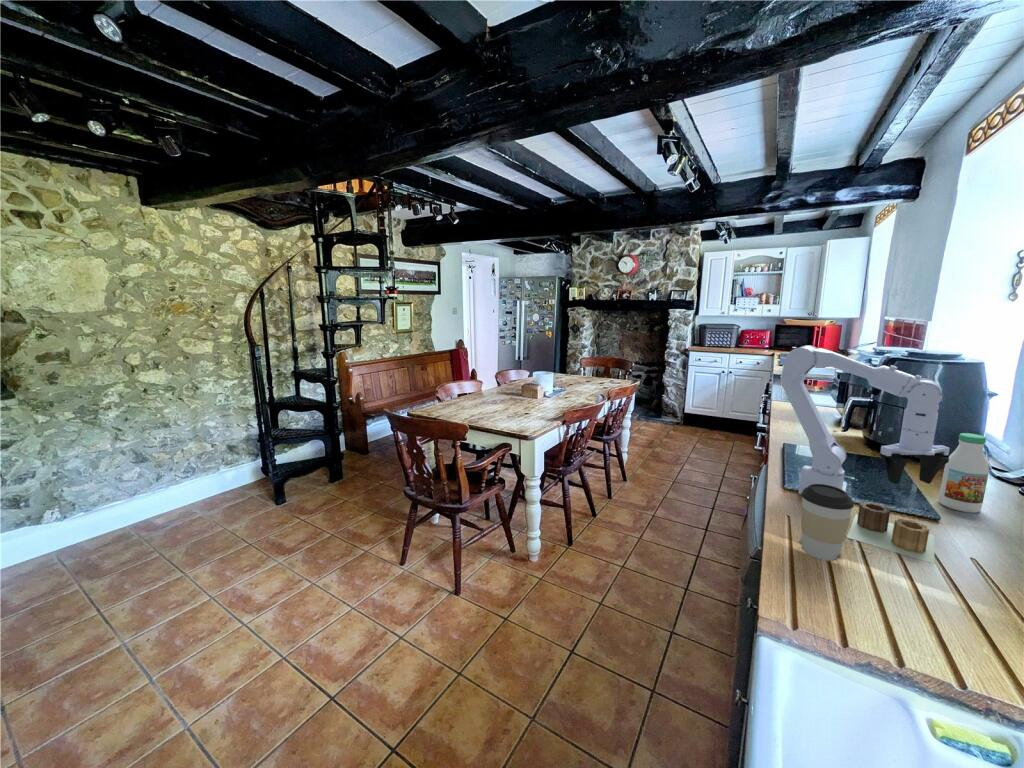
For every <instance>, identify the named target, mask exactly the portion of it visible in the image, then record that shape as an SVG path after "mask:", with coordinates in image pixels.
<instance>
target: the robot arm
mask: <svg viewBox="0 0 1024 768" xmlns="http://www.w3.org/2000/svg"><path fill="white" fill-rule="evenodd" d="M782 363H783V364H782V365H783V367H782V373H781V377H780V384H781V386H782V388H783V390H784V393H785V394H786V397H787V398H788V401H789V403H790V404H791V408H792V409H793V410H794V413H795V415H796V417H797V419H798V421H799V423H800V425H801V427H802V429H803V430H804V431H803V432H804V433H805V435H806V437H807V439H808V443H809V444H808V445H809V451H810V453H811V455H812V456H811V457H812V458H811V463H812V465H806V464H805V465H803V466H802V468H801V471H800V477H799V485H798V494H799V495H801V493H802V492H803V489H805V488H806V487H808V486H809V485H812V484H825V485H830V486H834V487H837V488H839V489H842V490H843V487H844V479H845V474H846V473H845V472H846V471H845V470H844V469H843V466H842V465H843V463H844V462H845V461H846V459H847V453H846V450H845V449H844V447H843V446H841V445H839V444H838V443H837V441H836V439H835V437H833V435H831V434H830V432H829V430H828V428H827V426H826V424H825V422H824V420H823V418H822V417H821V414H820V412H819V410H818V408H817V406H816V405H815V402H814V401H813V398H812V396H811V395H810V393H809V390H808V388H807V386H806V385H805V382H804V381H805V379H806V378H807V377H808V375H809V373H810V371H811V370H813V368H814V367H815V369H821V368H834V369H837V370H840V371H843V372H846V373H848V374H851V375H855V376H857V377H861V378H863V379H866V380H867V381H868V385H869V386H871V387H873V388H875V389H878V390H880V391H882V392H886V393H889V394H891V395H894V396H897V397H900V398H906V399H907V403H906V408H905V409H904V413H903V418H902V424H901V430H900V431H901V432H900V437H899V443H894V444H889V445H881V446H880V453H879V456H880V457H881V460H882V462H883V464H884V466H885V469H886V473H887V474H886V475H887V479H888V481H889V482H891V483H893V484H894V485H899V484H900V482H901V479H902V475H903V471H904V469H905V467H906V465H907V464H908V463H909V460H908V459H905V458H903V456H904V455H905V456H909V455H910V456H912V455H913V456H914V455H915V456H919V457H918V458H919V465H920V468H919V475H918V476H919V478H918V479H919V481H920V482H923V483H925V484H928V485H929V484H931V483H932V482H933V480H934V479H935V476H936V475H937V474H938V473H939V471H940V470H941V469H942V468H943V467H945V464H946V463H948V462H949V458H948V457H949V456H950V454H949V453H950V447H948V446H945V445H942V444H940V445H939V444H937V445H936V444H934V440H935V434H936V430H937V425H938V418H939V412H938V411H939V409H940V404H939V403H940V402H942V399H943V398H944V397H943V389H942V386H941V385H940V384H939V383H937V382H935V381H934V380H932V379H931V378H923V377H922V376H921V375H919V374H916V375H912V374H910V373H907V372H904V371H902V370H898V366H895V365H892V364H891V365H890V366H887V365H880V366H876V367H874V366H871V365H868V364H866V363H864V362H861V361H858V360H856V359H853V358H850V357H848V356H845V355H842V354H840V353H838V352H835V351H832V350H829V349H826V348H821V347H816V346H814V345H811V344H810V345H808V344H807V345H802V346H800V347H796V348H793V349H792V350H790V352H788V354H787V355H786V357H785V358H784V360H783V362H782ZM947 456H948V457H947Z"/></svg>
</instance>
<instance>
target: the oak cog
mask: <svg viewBox="0 0 1024 768" xmlns="http://www.w3.org/2000/svg"><path fill="white" fill-rule="evenodd" d="M893 524H894V528H893V534H892V540H891V542H894V544H893V545H895V546H896V547H900V548H902V549H904V550H906V551H909V552H910V551H912V552H916V553H922V552H923V551H924V552H925V551H926V546H927V540H928V535H929V534H930V528H928V526H927V525H925V524H923V523H919V522H916V521H915V520H912V519H904V518H898V519H895V520H894V522H893Z"/></svg>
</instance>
